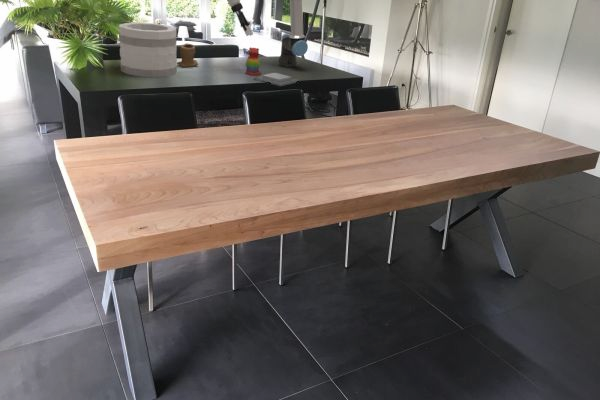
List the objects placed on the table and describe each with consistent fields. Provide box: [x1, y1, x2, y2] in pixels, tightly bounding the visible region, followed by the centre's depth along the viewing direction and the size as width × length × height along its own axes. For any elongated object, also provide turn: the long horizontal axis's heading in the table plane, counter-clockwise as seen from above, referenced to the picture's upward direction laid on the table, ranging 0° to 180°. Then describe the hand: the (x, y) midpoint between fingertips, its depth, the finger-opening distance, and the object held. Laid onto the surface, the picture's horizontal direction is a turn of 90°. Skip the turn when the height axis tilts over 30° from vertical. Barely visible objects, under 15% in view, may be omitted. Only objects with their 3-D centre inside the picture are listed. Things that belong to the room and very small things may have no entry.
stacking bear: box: [244, 47, 262, 76], centre depth 344 cm, size 11×10×18 cm
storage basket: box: [118, 22, 178, 78], centre depth 319 cm, size 35×35×27 cm
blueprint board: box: [253, 72, 300, 87], centre depth 336 cm, size 22×22×3 cm
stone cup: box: [177, 43, 199, 68], centre depth 346 cm, size 15×12×15 cm
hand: (250, 35), depth 338 cm, fingers open, 13 cm apart
